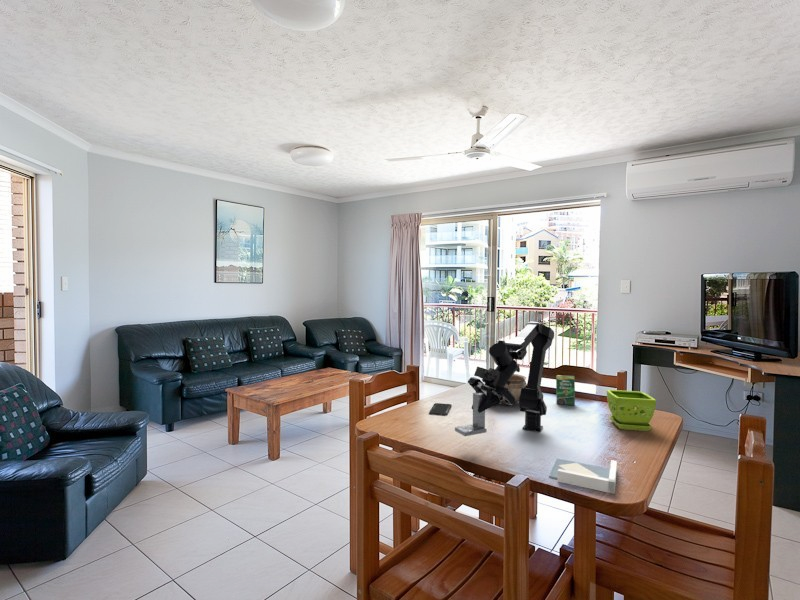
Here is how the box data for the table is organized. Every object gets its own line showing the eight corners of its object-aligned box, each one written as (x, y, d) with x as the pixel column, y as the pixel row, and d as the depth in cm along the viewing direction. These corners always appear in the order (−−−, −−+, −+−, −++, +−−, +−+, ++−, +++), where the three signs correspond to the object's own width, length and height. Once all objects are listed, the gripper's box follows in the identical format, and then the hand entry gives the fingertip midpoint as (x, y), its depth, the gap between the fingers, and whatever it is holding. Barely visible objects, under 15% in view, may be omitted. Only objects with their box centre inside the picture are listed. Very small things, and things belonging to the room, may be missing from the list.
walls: (565, 461, 129) (565, 451, 129) (616, 471, 122) (616, 461, 122) (557, 481, 115) (557, 470, 115) (614, 493, 109) (614, 482, 109)
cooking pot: (523, 413, 179) (524, 384, 178) (479, 407, 186) (479, 380, 186) (530, 399, 202) (531, 373, 201) (491, 394, 209) (491, 370, 209)
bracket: (477, 426, 140) (477, 391, 140) (487, 432, 135) (487, 395, 135) (454, 430, 136) (455, 394, 136) (464, 436, 131) (465, 398, 131)
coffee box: (555, 404, 193) (556, 375, 192) (555, 402, 196) (556, 374, 195) (574, 405, 190) (575, 377, 190) (574, 404, 193) (574, 375, 192)
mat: (556, 459, 130) (556, 458, 130) (610, 470, 123) (610, 468, 123) (549, 477, 118) (549, 475, 118) (608, 490, 111) (608, 488, 111)
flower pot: (656, 434, 154) (657, 399, 153) (615, 431, 156) (616, 397, 156) (642, 422, 167) (643, 390, 167) (604, 419, 170) (605, 388, 170)
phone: (451, 404, 189) (447, 413, 174) (451, 406, 189) (447, 416, 174) (434, 403, 191) (428, 412, 176) (434, 405, 191) (428, 414, 176)
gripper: (472, 353, 146) (445, 388, 142) (508, 362, 130) (478, 402, 125) (490, 374, 150) (464, 408, 146) (527, 385, 133) (499, 424, 129)
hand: (475, 410), depth 136 cm, fingers closed on bracket, 3 cm apart
